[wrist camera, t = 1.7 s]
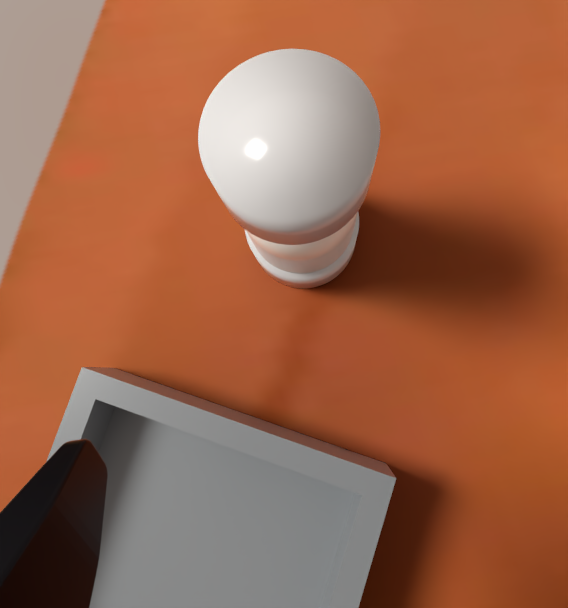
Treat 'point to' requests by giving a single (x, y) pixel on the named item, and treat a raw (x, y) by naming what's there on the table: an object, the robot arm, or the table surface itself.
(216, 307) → the table surface
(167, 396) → the parts tray
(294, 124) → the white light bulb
